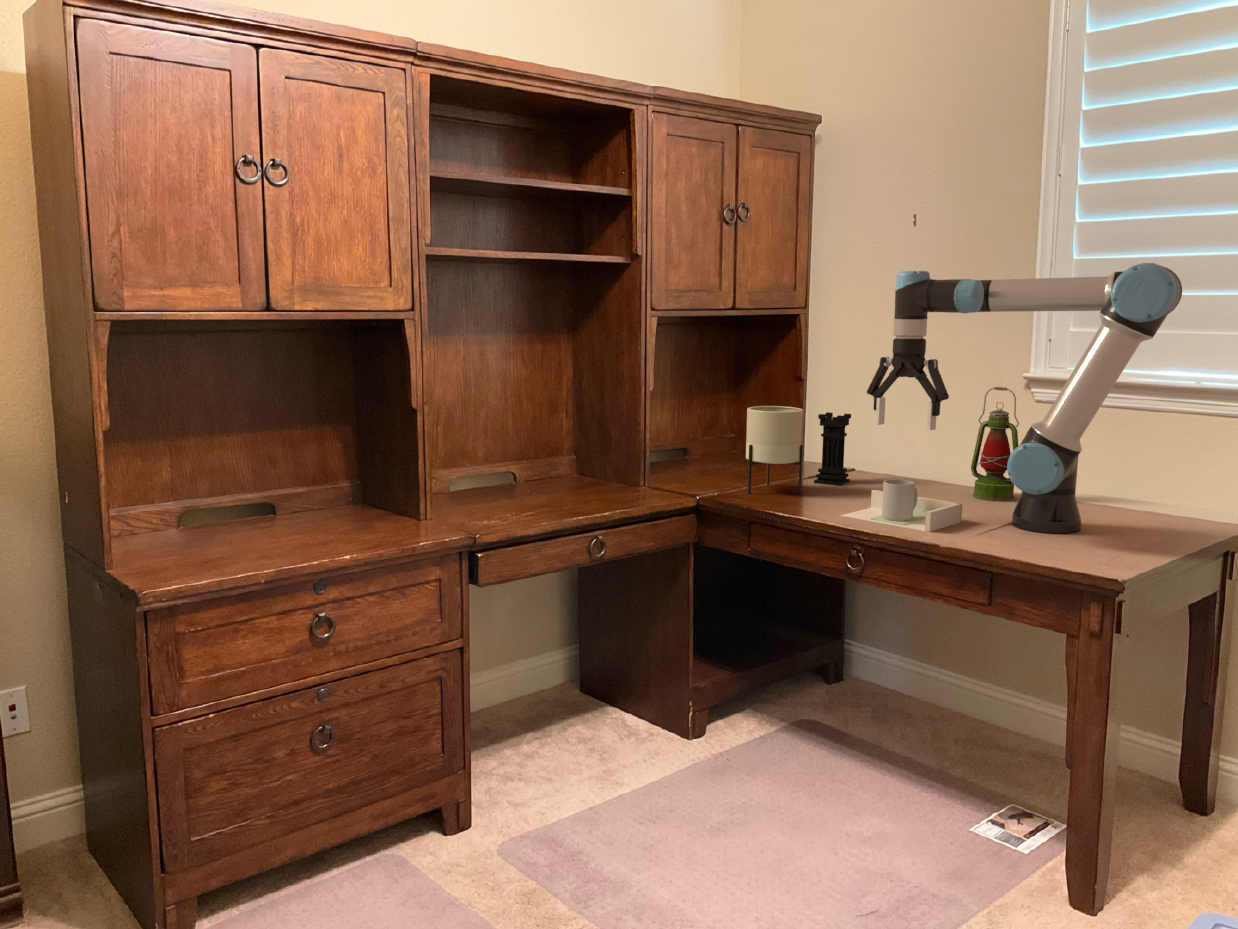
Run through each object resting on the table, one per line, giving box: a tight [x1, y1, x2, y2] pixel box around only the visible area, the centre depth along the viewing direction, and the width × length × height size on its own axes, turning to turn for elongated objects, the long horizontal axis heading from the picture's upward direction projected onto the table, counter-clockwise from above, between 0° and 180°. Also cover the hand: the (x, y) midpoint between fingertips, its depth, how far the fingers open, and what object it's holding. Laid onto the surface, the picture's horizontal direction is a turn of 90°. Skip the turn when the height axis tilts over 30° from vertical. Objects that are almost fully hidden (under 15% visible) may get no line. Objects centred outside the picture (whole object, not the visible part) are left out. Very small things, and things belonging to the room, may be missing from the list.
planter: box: [745, 405, 804, 495], centre depth 282 cm, size 15×16×23 cm
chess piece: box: [813, 412, 852, 487], centre depth 297 cm, size 8×8×20 cm
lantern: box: [970, 386, 1020, 503], centre depth 275 cm, size 14×11×30 cm
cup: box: [882, 478, 919, 521], centre depth 246 cm, size 7×10×9 cm
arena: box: [840, 489, 963, 533], centre depth 247 cm, size 24×15×5 cm, turn 44°
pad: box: [870, 514, 926, 525], centre depth 247 cm, size 9×12×1 cm
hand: (905, 427), depth 244 cm, fingers open, 13 cm apart
